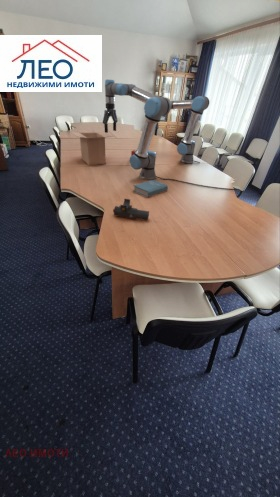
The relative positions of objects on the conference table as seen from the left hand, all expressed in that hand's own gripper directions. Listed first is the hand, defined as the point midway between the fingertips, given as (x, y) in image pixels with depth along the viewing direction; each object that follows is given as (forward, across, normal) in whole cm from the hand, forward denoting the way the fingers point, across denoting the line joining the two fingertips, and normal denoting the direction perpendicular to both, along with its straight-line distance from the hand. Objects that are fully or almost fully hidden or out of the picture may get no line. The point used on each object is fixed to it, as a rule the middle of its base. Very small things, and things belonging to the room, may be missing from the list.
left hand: (110, 131), depth 195 cm
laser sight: (+34, +73, +61) cm, 101 cm away
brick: (+34, -49, +2) cm, 60 cm away
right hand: (+12, -74, +10) cm, 76 cm away
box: (+34, -15, -32) cm, 49 cm away
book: (+34, +26, +54) cm, 69 cm away
